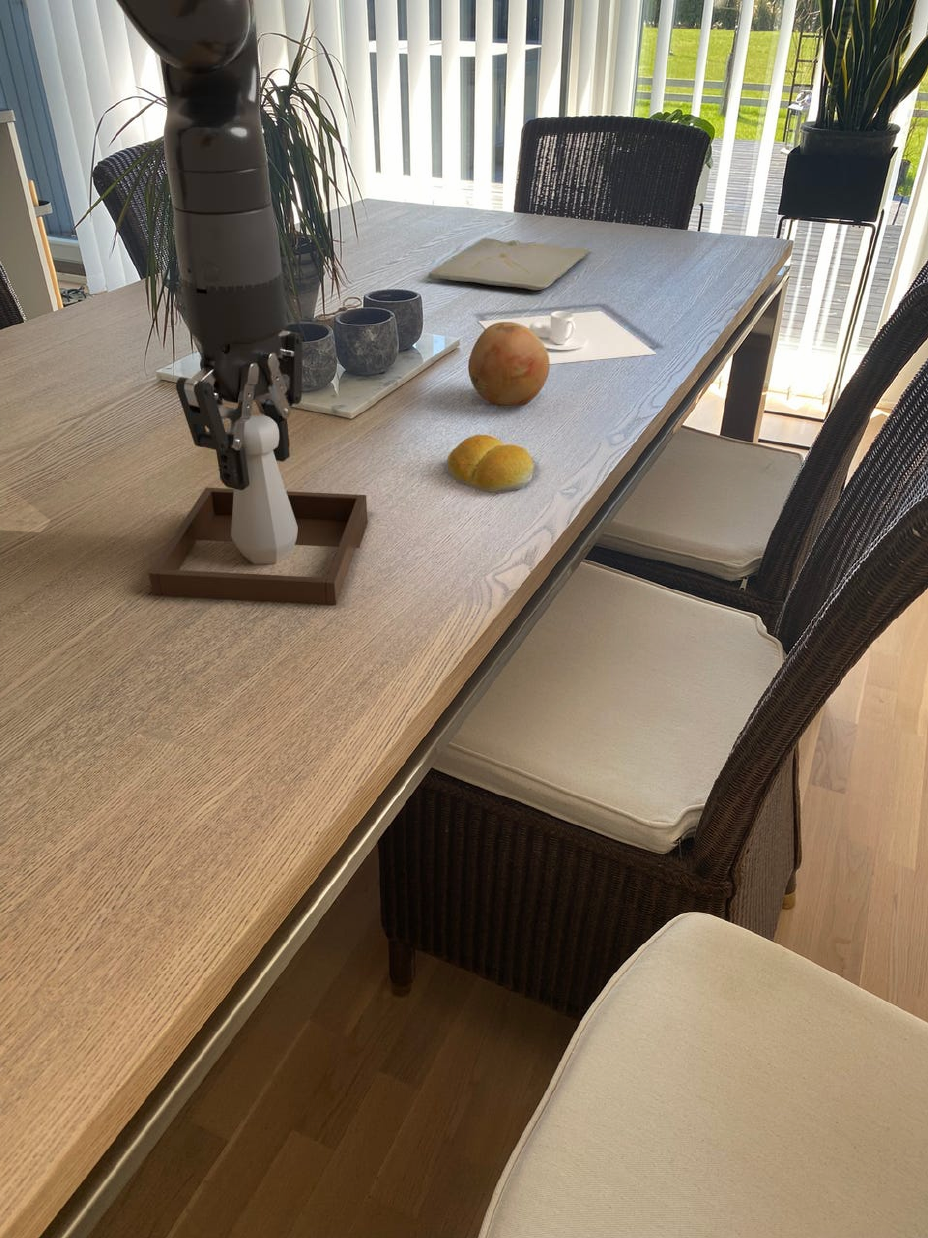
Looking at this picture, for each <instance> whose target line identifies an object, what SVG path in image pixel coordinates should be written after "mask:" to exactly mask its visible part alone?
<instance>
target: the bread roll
mask: <svg viewBox="0 0 928 1238" xmlns="http://www.w3.org/2000/svg"><path fill="white" fill-rule="evenodd" d="M447 467H448V472H449V473H450V475H451V476H452V477H453V478H454V480H456V481H457V482H459V483H461V484H463V485H465V486H469V487H473V488H475V489H476V490H477V491H480V492H483V493H487V494H500V493H506V492H507V493H508V492H512V491H516V490H520V489H523V488H524V487H526V486H527V485H528V484H529V483H530V482H531V480H532V478H533V472H534V469H535V464H534V459H533V458H532V455H531V454H530V452H528V451H527V449H525V448H524V447H522V446H520V445H516V444H505V443H504V442H503V441H501V440H500V439H499V438H496V437H494V436H492V435H489V434H475V435H472V436H470V437H467V438H465V439H464V440H462V441H461V442H460V443H459V444H458V445H456V447H454V448H453V449H452V450H451V452H449V454H448V456H447Z"/></svg>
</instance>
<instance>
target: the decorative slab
mask: <svg viewBox="0 0 928 1238" xmlns="http://www.w3.org/2000/svg"><path fill="white" fill-rule="evenodd" d="M588 254H589V249H587V248H580V247H579V248H578V247H567V246H565V247H563V246H558V245H553V244H552V245H551V244H546V243H540V242H533V241H532V242H531V241H530V242H529V241H528V242H521V241H520V240H517V239H513V240H512V239H511V240H509V241H503V240H499V239H495V238H489V237H483V238H482V239H481V240H480V241H478V242H476V243H474V244H473V245H471V246H470V247H467V248H466V249H464V250H463V251H462V252H460V253H458V254H457V255H455V256H453V257H451V259H449V260H448V261H446V262H444V263H442V264H440V265H438V266H437V267H435V268H434V269H433V270H431V271H430V272H429V273H428V277H429V278H430V279H442V280H450V281H458V282H469V283H477V284H482V285H483V284H484V285H490V286H499V287H500V286H501V287H508V288H509V287H510V288H520V289H528V290H531V291H542V290H545V289H547V288H548V287H550V285H553V284H554V283H555V281H556V280H558V279H559V278H561V277H562V276H563V275H564V274H566V273H567V271H568V270H570V269H571V268H573V266H574V265H575V264H577V263H578V262H579V261H580V260H581V259H584V258H585V256H586V255H588Z"/></svg>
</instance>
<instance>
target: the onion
mask: <svg viewBox="0 0 928 1238" xmlns="http://www.w3.org/2000/svg"><path fill="white" fill-rule="evenodd" d="M467 370H468V375H469V380H470V382H471V385H472V386H473V387H474V389H475V391H476V393H478V395H479V396H480V397H481V398H482V399H484V400H485V401H486V402H488V403H489V404H491V405H493V406H496V407H500V408H512V407H521V406H525V405H527V404H529V403H531V402H532V401H533V400H534V399H535V397H537V395H538V394H539V393H540V392H541V391H542V389H543V387H544V386H545V384H546V382H547V380H548V377H549V375H550V364H549V356H548V353H547V350H546V348H545V346H544V344H543V343H542V341H541V340H540V338H539V337H538V336H537V335H536V334H535V333H534V332H533V331H532V330H530V329H529V328H527V327H525V326H523V325H521V324H518V323H514V322H500V323H495V324H493V325H491V326H489V327H488V328H487V329H484V331H483V332H482V333H481V334H480V335H479V337H478V338H477V340H476V341H475V343H474V345H473V347H472V350H471V351H470V355H469V357H468V365H467Z"/></svg>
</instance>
